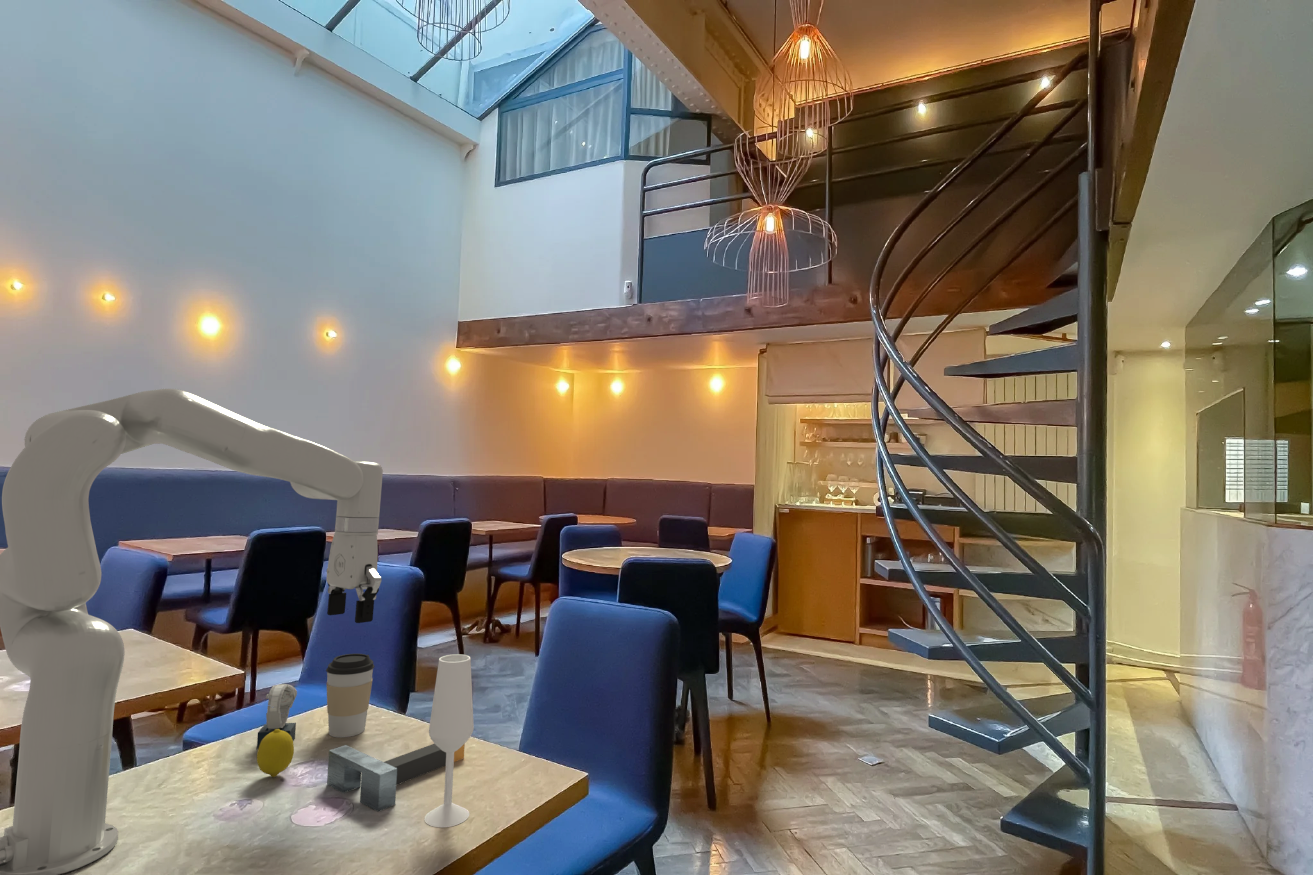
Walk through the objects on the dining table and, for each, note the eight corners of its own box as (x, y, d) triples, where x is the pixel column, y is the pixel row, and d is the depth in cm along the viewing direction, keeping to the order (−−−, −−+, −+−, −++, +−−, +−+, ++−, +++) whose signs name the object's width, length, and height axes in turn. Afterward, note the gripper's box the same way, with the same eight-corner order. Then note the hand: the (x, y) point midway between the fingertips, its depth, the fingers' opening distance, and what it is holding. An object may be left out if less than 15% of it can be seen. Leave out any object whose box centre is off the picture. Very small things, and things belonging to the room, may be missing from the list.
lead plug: (384, 790, 112) (385, 770, 112) (372, 784, 113) (374, 765, 114) (463, 758, 125) (464, 740, 125) (452, 753, 127) (453, 736, 127)
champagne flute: (447, 801, 108) (454, 650, 110) (478, 812, 105) (486, 656, 107) (414, 819, 102) (422, 659, 104) (447, 831, 99) (455, 666, 101)
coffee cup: (317, 740, 131) (321, 662, 132) (328, 723, 140) (332, 650, 141) (366, 737, 133) (371, 660, 134) (374, 721, 142) (378, 649, 143)
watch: (297, 734, 133) (301, 678, 134) (286, 751, 126) (290, 691, 126) (266, 736, 132) (269, 679, 133) (253, 753, 124) (257, 692, 125)
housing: (378, 811, 104) (380, 774, 105) (326, 784, 113) (329, 750, 113) (395, 804, 107) (397, 768, 107) (343, 778, 115) (345, 744, 116)
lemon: (264, 787, 111) (267, 737, 112) (249, 777, 115) (253, 729, 115) (298, 776, 116) (301, 728, 116) (283, 767, 119) (286, 720, 119)
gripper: (314, 523, 129) (306, 613, 128) (363, 529, 119) (355, 628, 118) (351, 523, 135) (344, 609, 134) (401, 529, 125) (393, 622, 124)
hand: (349, 618), depth 126 cm, fingers open, 9 cm apart
